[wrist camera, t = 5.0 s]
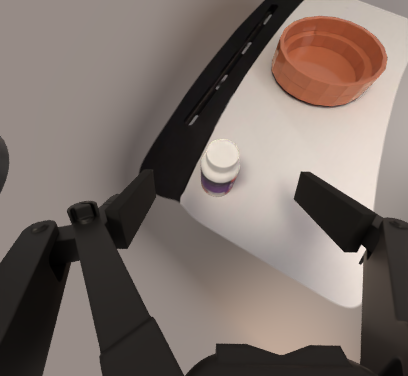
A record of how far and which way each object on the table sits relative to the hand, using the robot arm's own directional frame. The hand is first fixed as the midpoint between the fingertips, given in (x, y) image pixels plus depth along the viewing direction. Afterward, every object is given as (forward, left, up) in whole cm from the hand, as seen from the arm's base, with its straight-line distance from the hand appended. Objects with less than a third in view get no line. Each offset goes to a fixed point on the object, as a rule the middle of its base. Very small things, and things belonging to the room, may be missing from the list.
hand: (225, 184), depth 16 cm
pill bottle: (-2, +3, -9) cm, 10 cm away
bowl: (+6, +32, -9) cm, 34 cm away
